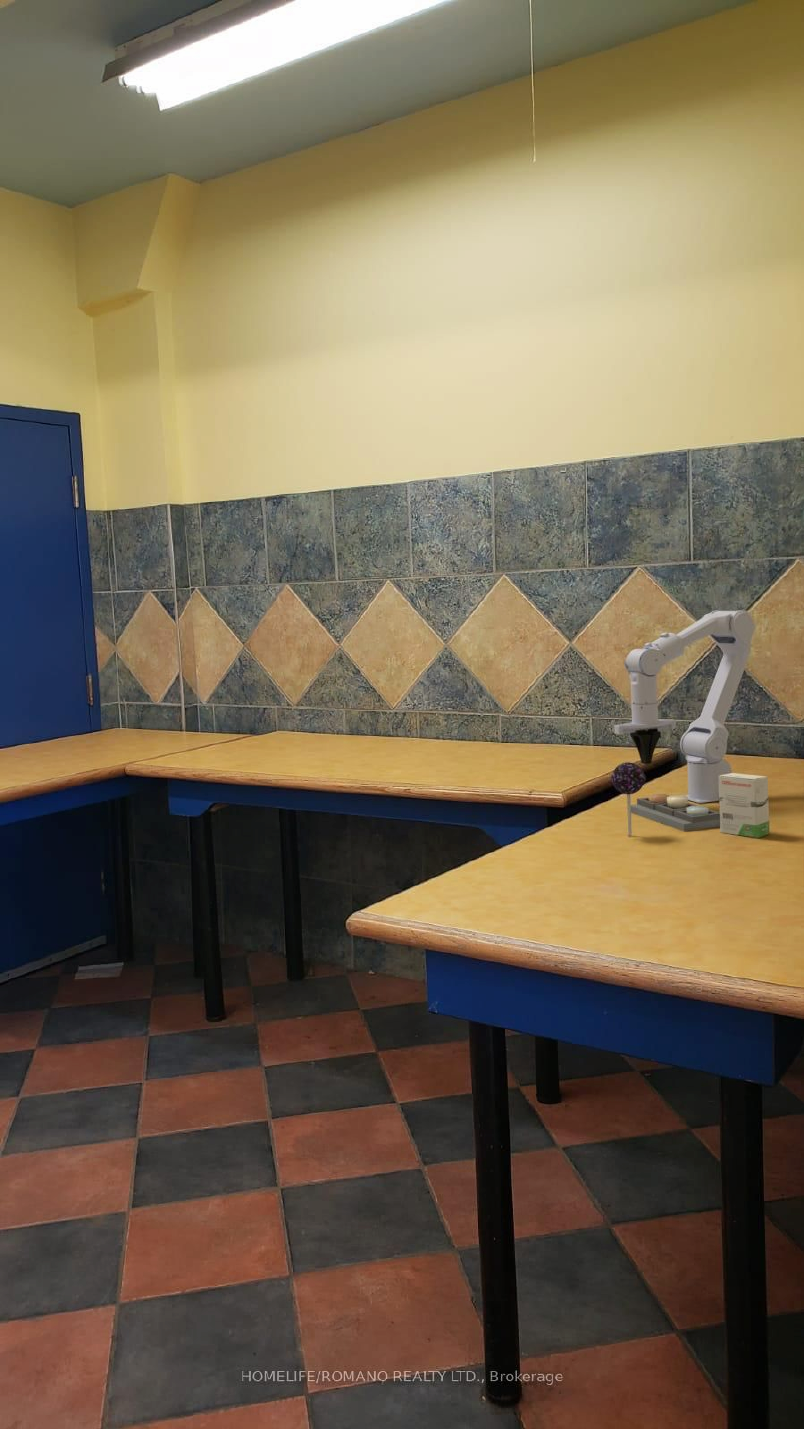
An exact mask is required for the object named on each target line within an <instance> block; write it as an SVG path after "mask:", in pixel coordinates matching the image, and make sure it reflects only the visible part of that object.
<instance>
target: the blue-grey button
mask: <svg viewBox="0 0 804 1429" xmlns="http://www.w3.org/2000/svg"><path fill="white" fill-rule="evenodd" d="M709 809H710V808H709V807H708V806H706V805H705V806H703V805H697V806H689V807H687V814H690V815H693V816H696V815H703V814H709Z"/></svg>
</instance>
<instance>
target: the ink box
mask: <svg viewBox="0 0 804 1429" xmlns="http://www.w3.org/2000/svg"><path fill="white" fill-rule="evenodd" d="M768 780H769V777H768V776H764V775H756V774H746V773H735V772H732V773H730V774H724V775H720V776H719V801H718V802H719V812H720V826H719V828H720V832H719V833H722V834H729V835H736V836H743V837H746V838H747V837H749V838H756V839H759V838H762V837H764V836H766V835H770V832H771V831H770V812H769V811H770V809H769V805H770V804H769V781H768Z"/></svg>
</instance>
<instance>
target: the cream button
mask: <svg viewBox="0 0 804 1429" xmlns="http://www.w3.org/2000/svg"><path fill="white" fill-rule="evenodd" d="M688 803H689V800H688V797H687V796H682V794H678V795H676V794H675V795H669V796H668V797H667V806H668V807H671V808H684V807H688Z"/></svg>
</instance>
